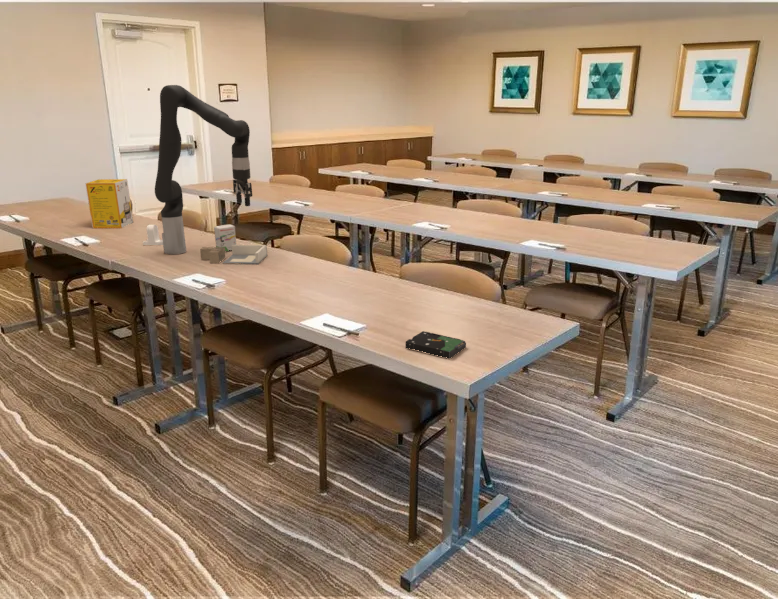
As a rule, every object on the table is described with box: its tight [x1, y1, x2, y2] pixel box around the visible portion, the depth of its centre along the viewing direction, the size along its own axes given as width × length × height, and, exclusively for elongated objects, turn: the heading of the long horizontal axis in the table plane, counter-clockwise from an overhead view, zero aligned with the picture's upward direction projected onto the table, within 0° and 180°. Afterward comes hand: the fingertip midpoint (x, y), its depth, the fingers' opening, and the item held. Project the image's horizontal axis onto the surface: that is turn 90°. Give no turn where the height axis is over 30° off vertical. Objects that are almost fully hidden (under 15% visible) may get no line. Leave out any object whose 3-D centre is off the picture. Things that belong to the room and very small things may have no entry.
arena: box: [222, 244, 268, 265], centre depth 278 cm, size 16×15×5 cm
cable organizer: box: [142, 224, 163, 246], centre depth 307 cm, size 5×10×10 cm, turn 84°
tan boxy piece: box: [199, 246, 226, 264], centre depth 277 cm, size 9×10×5 cm
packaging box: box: [85, 178, 134, 229], centre depth 350 cm, size 16×16×25 cm
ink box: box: [213, 223, 237, 252], centre depth 294 cm, size 8×5×12 cm, turn 129°
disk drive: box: [405, 330, 467, 359], centre depth 181 cm, size 10×3×15 cm
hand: (243, 204), depth 278 cm, fingers open, 8 cm apart
